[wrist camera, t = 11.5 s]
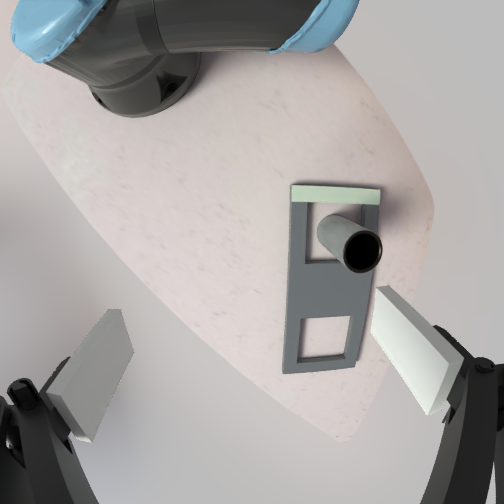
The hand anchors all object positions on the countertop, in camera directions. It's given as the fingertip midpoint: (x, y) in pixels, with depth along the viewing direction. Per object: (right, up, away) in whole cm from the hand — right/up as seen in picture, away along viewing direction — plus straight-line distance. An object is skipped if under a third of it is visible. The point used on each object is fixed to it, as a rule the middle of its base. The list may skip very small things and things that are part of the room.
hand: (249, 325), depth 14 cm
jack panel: (+11, -1, +25) cm, 28 cm away
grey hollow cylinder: (+11, +6, +23) cm, 27 cm away
